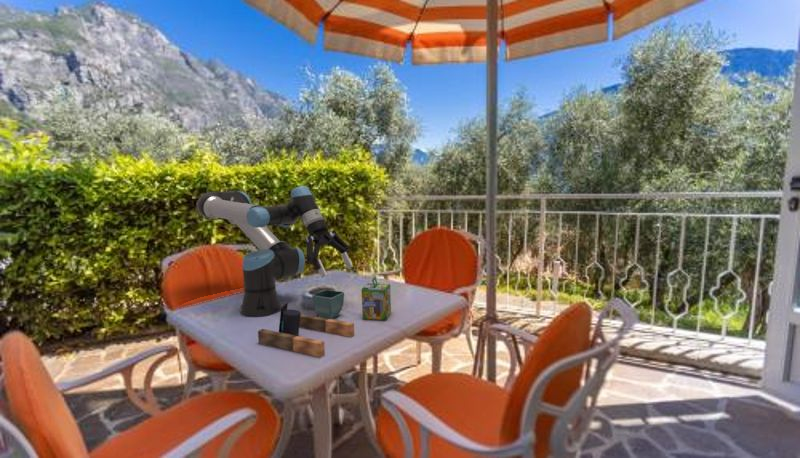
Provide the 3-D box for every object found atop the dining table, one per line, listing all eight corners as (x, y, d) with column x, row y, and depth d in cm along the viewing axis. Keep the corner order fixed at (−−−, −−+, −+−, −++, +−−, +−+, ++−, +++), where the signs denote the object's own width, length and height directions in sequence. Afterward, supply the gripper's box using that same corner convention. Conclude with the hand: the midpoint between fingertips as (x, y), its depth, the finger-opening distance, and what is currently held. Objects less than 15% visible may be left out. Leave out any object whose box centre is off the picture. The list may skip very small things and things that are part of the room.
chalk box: (386, 321, 141) (385, 281, 139) (361, 319, 143) (360, 280, 141) (391, 312, 150) (391, 275, 148) (368, 311, 152) (367, 274, 150)
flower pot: (345, 314, 148) (345, 291, 147) (332, 322, 140) (331, 298, 139) (326, 311, 152) (325, 289, 151) (312, 319, 144) (311, 295, 143)
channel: (258, 343, 123) (257, 331, 122) (297, 324, 139) (296, 313, 138) (320, 357, 112) (320, 344, 112) (354, 334, 128) (354, 323, 128)
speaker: (272, 337, 127) (274, 306, 126) (283, 331, 132) (285, 302, 131) (291, 342, 124) (293, 311, 123) (302, 337, 129) (304, 306, 128)
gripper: (293, 223, 140) (318, 276, 136) (343, 214, 160) (365, 260, 156) (283, 232, 144) (306, 284, 141) (332, 222, 164) (354, 268, 160)
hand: (337, 272), depth 148 cm, fingers open, 13 cm apart
